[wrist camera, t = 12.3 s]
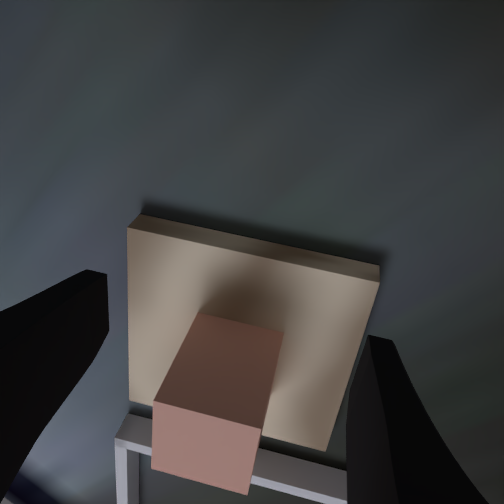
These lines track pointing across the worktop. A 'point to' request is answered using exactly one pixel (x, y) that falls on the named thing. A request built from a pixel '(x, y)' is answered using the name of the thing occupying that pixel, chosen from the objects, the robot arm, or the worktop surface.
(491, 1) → the worktop surface
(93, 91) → the worktop surface
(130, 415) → the tray
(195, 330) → the terracotta block
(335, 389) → the board
